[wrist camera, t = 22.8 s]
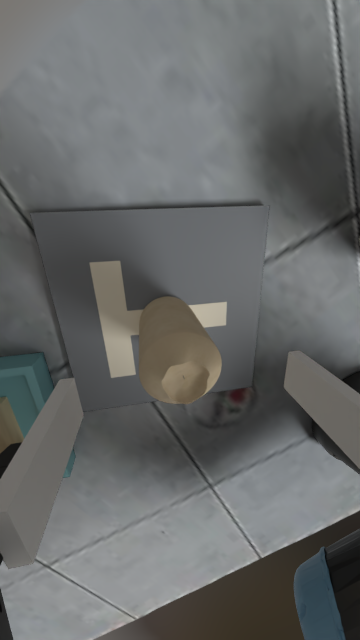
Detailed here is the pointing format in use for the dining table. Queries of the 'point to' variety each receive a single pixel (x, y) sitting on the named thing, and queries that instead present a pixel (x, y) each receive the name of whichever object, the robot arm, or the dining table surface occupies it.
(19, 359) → the tray
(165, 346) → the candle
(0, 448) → the wooden block
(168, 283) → the board
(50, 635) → the dining table surface
